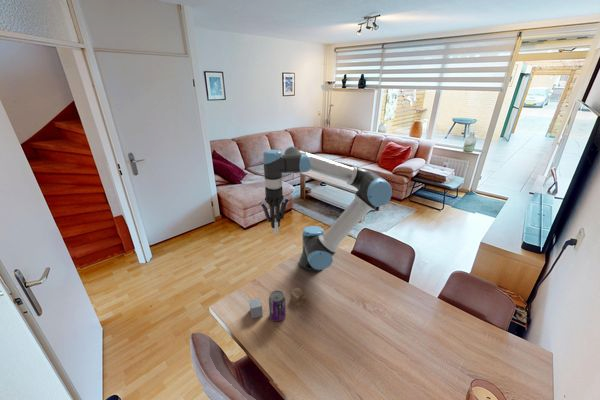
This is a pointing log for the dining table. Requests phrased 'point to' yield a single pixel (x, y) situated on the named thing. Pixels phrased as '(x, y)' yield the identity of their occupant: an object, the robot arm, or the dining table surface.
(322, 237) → the robot arm
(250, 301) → the slate block
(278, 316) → the beverage can
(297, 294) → the walnut block
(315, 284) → the dining table surface
